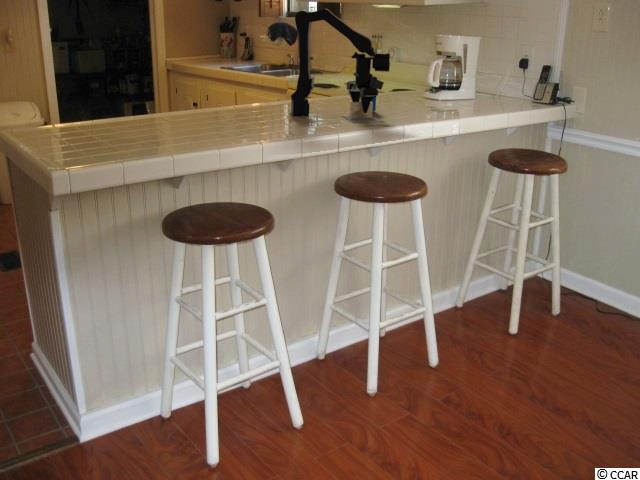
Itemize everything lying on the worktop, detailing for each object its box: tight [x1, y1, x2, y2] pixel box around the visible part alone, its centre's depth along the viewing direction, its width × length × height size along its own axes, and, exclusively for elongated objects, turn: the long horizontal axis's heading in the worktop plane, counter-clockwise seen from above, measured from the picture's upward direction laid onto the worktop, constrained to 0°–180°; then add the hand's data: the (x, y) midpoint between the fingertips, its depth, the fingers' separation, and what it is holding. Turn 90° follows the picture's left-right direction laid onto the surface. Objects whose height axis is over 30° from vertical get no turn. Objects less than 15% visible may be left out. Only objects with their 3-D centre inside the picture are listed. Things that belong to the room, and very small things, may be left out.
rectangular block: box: [349, 101, 374, 118], centre depth 251 cm, size 9×2×6 cm, turn 109°
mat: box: [341, 115, 386, 124], centre depth 249 cm, size 13×14×1 cm
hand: (360, 111), depth 251 cm, fingers open, 9 cm apart
